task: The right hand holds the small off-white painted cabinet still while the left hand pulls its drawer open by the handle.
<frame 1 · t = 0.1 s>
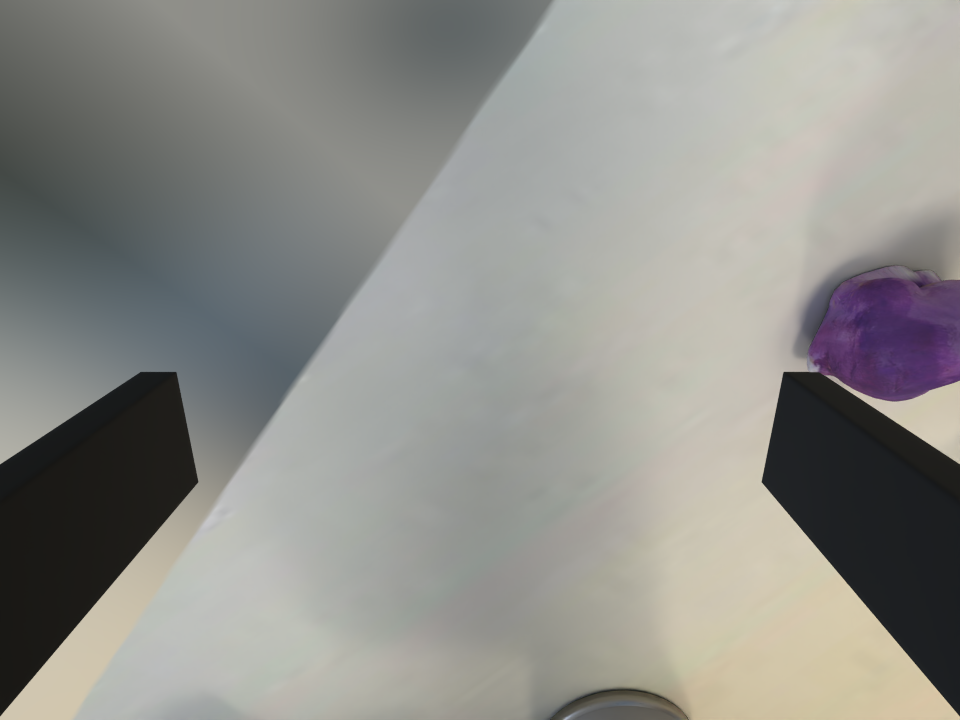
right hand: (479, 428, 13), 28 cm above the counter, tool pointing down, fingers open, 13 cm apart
figurine: (876, 312, 41), on the counter
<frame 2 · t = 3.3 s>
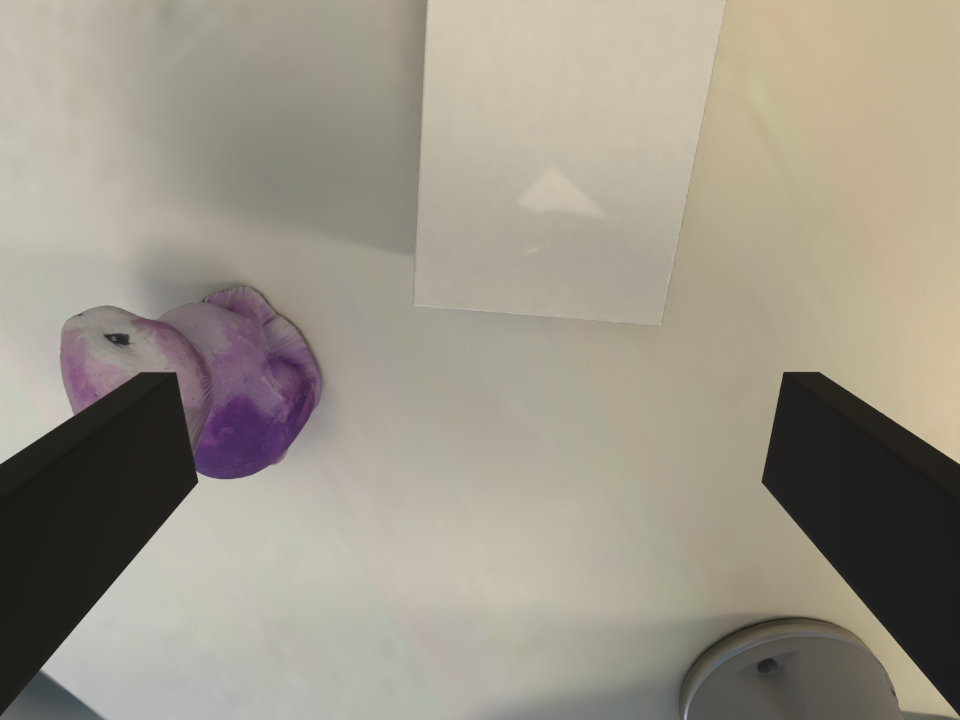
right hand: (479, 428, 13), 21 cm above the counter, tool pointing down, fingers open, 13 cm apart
figurine: (246, 358, 35), on the counter
cabinet: (543, 70, 29), on the counter
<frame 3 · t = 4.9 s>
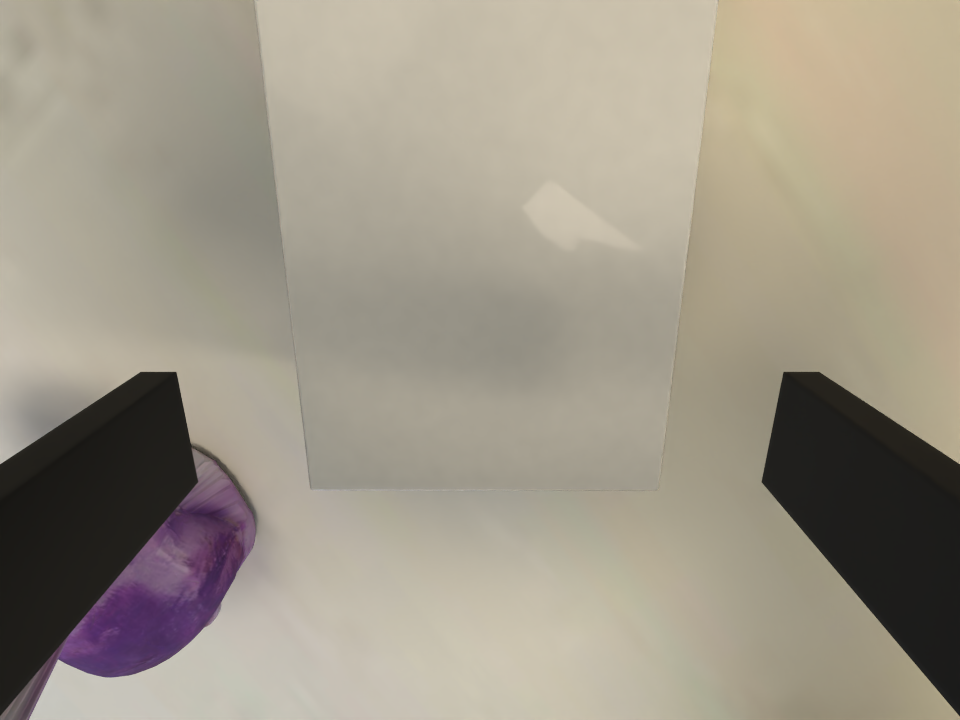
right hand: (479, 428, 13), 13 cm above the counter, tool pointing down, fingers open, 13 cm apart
figurine: (162, 499, 29), on the counter
cabinet: (484, 128, 23), on the counter
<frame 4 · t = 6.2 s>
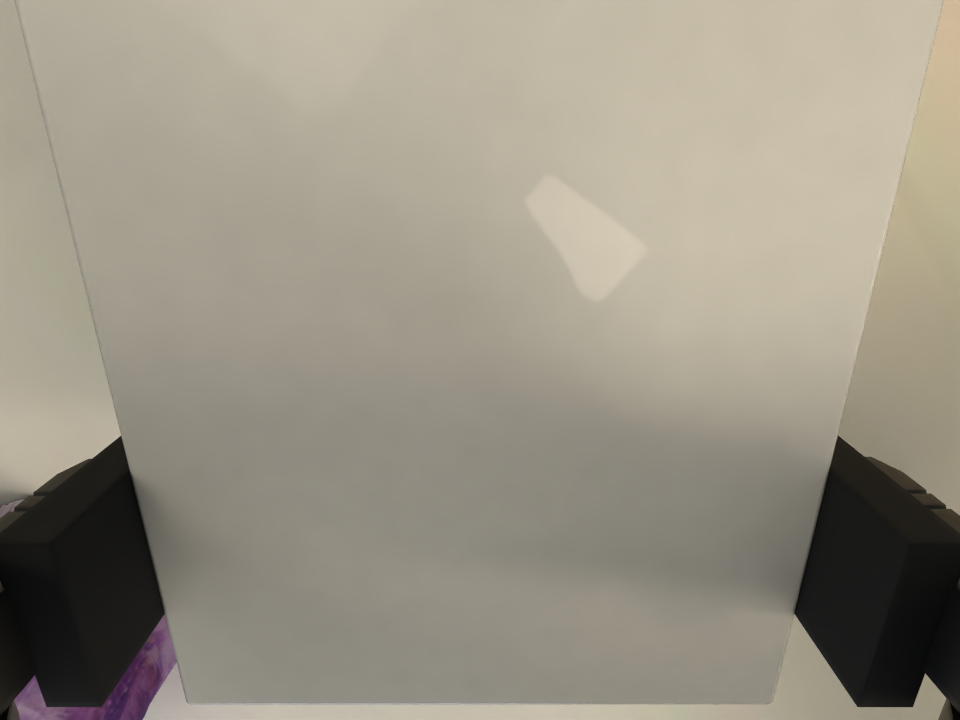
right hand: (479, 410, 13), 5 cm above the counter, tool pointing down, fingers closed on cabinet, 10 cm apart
figurine: (58, 597, 22), on the counter
cabinet: (479, 103, 16), on the counter, touching right hand
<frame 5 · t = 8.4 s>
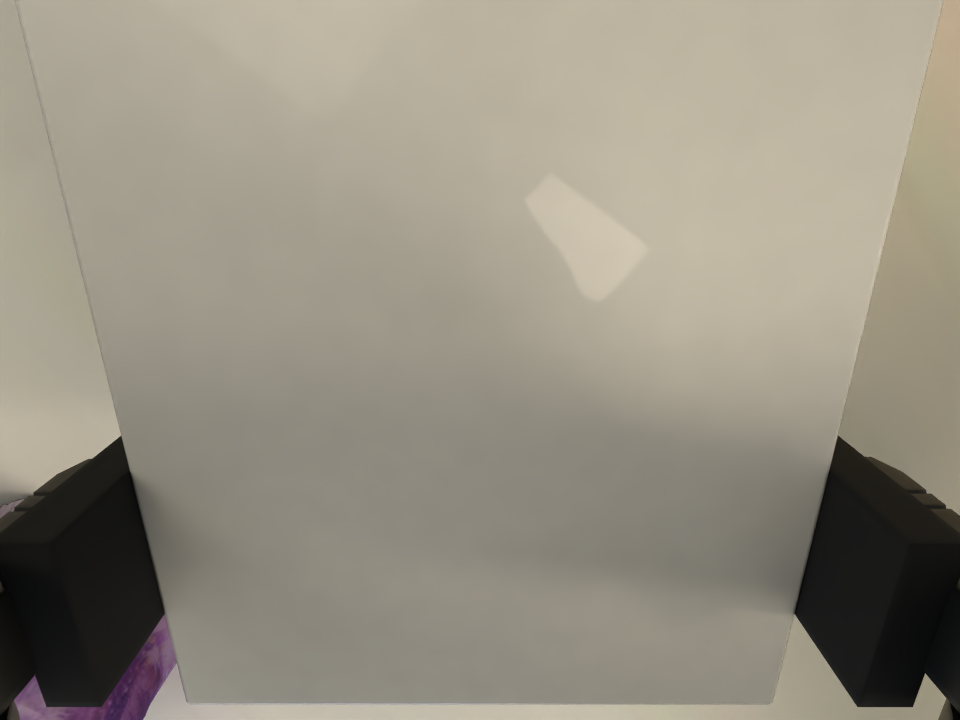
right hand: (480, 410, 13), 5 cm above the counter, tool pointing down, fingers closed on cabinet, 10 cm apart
figurine: (58, 597, 22), on the counter
cabinet: (479, 103, 16), on the counter, touching right hand
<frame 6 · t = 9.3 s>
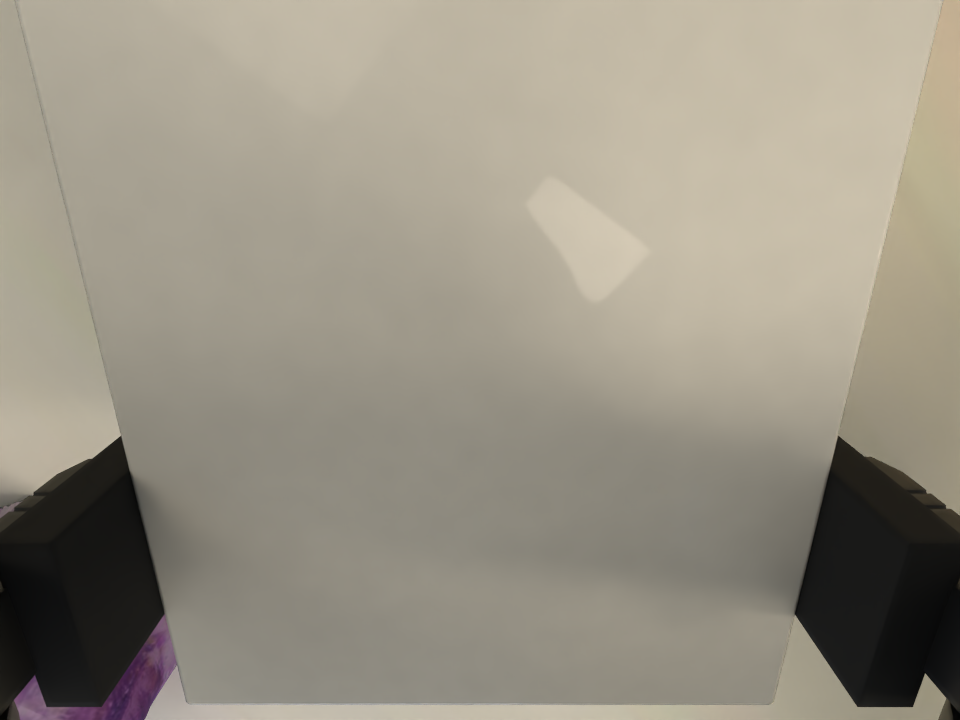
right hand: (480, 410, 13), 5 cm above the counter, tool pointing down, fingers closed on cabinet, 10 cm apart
figurine: (59, 598, 22), on the counter
cabinet: (479, 104, 16), on the counter, touching right hand
when the right hand's fingers open (5 cm above the counter, at t = 11.1 s): cabinet stays where it is, on the counter.
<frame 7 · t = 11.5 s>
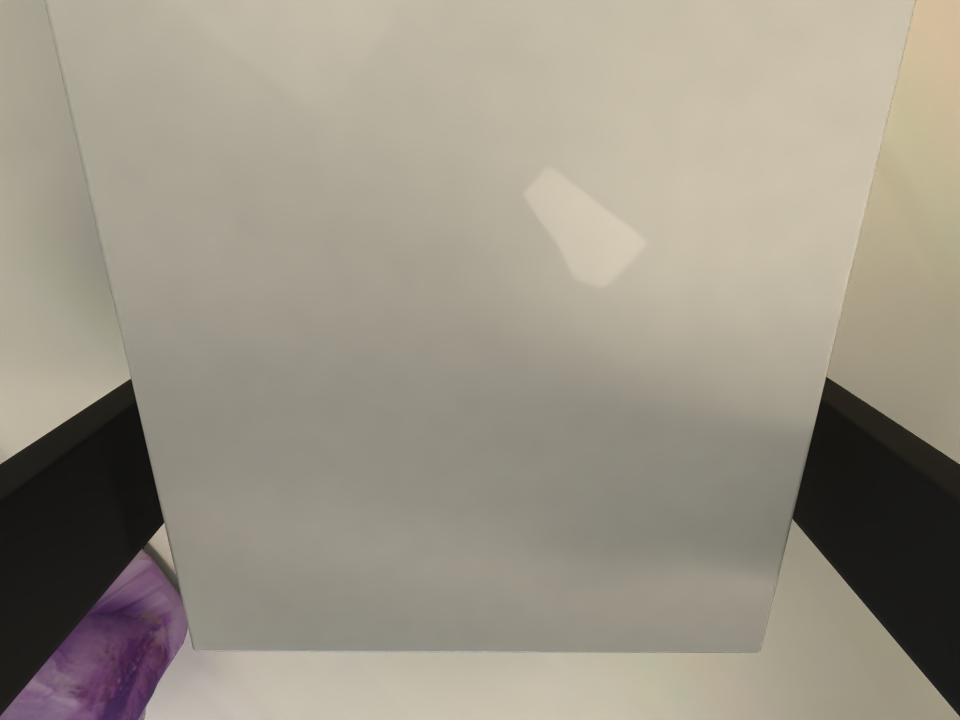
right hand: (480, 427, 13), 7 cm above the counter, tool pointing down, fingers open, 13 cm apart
figurine: (67, 580, 22), on the counter
cabinet: (479, 79, 16), on the counter
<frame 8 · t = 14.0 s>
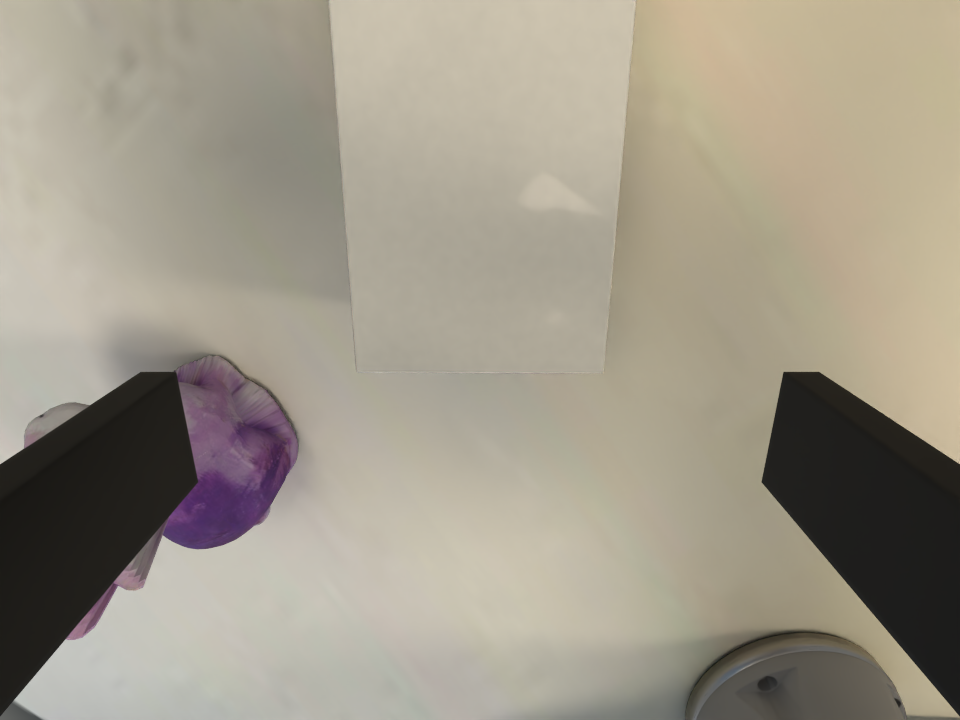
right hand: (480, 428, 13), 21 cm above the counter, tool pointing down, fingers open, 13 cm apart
figurine: (222, 423, 36), on the counter
cabinet: (481, 116, 29), on the counter
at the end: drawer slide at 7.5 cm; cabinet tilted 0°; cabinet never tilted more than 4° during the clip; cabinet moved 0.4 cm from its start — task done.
